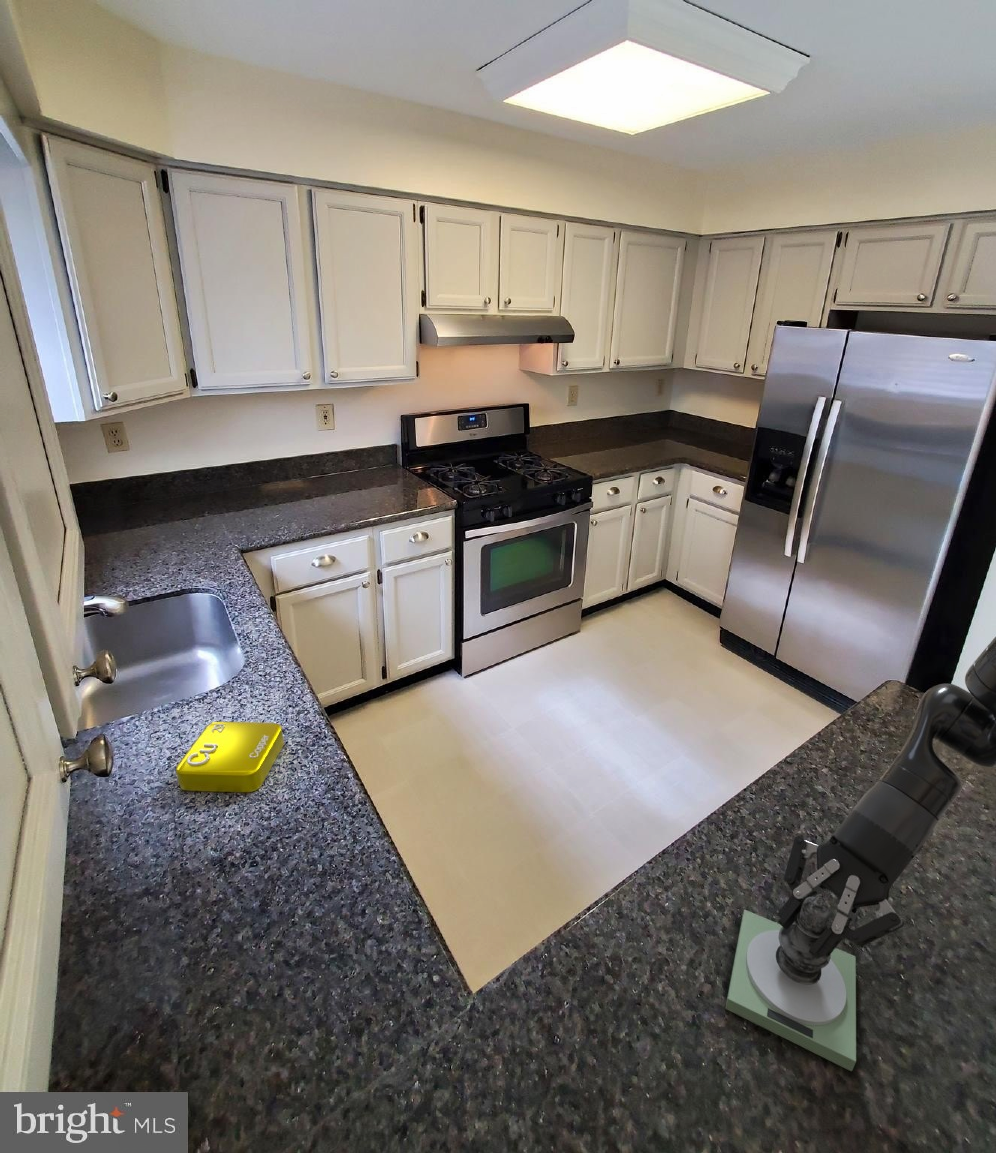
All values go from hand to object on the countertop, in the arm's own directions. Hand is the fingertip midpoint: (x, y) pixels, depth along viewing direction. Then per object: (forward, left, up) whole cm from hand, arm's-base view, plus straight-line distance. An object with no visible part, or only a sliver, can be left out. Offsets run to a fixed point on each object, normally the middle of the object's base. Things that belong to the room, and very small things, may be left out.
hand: (798, 940), depth 72 cm
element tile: (+96, +5, -10) cm, 97 cm away
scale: (-1, -2, -10) cm, 10 cm away
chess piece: (-1, -2, -6) cm, 6 cm away
